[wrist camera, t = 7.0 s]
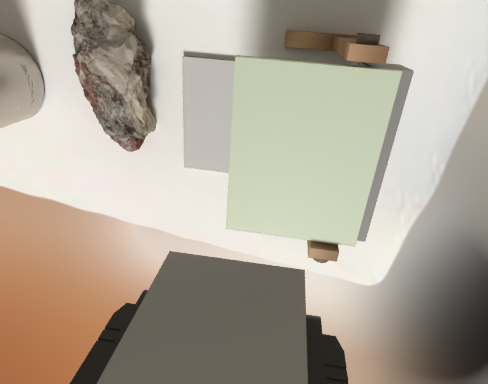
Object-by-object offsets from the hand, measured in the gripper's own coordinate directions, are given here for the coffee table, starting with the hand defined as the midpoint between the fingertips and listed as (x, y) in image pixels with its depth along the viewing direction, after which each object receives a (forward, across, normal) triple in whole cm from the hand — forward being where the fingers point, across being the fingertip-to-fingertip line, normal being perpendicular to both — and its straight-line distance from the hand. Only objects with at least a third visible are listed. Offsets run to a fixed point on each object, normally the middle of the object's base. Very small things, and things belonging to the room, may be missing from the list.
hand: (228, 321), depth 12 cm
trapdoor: (+21, -3, 0) cm, 21 cm away
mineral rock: (+28, +17, -3) cm, 32 cm away
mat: (+27, +3, +1) cm, 27 cm away
